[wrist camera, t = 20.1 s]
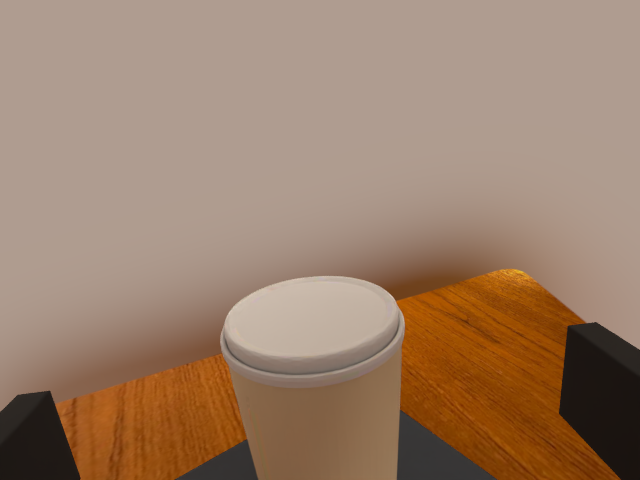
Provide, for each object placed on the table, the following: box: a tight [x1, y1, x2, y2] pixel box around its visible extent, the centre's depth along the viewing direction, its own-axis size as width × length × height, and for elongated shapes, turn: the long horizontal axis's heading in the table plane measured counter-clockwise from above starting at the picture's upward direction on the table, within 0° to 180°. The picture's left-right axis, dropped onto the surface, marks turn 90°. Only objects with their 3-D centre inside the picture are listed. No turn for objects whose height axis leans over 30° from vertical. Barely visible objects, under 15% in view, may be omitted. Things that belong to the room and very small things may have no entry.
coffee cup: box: [220, 276, 405, 480], centre depth 21 cm, size 9×9×12 cm
